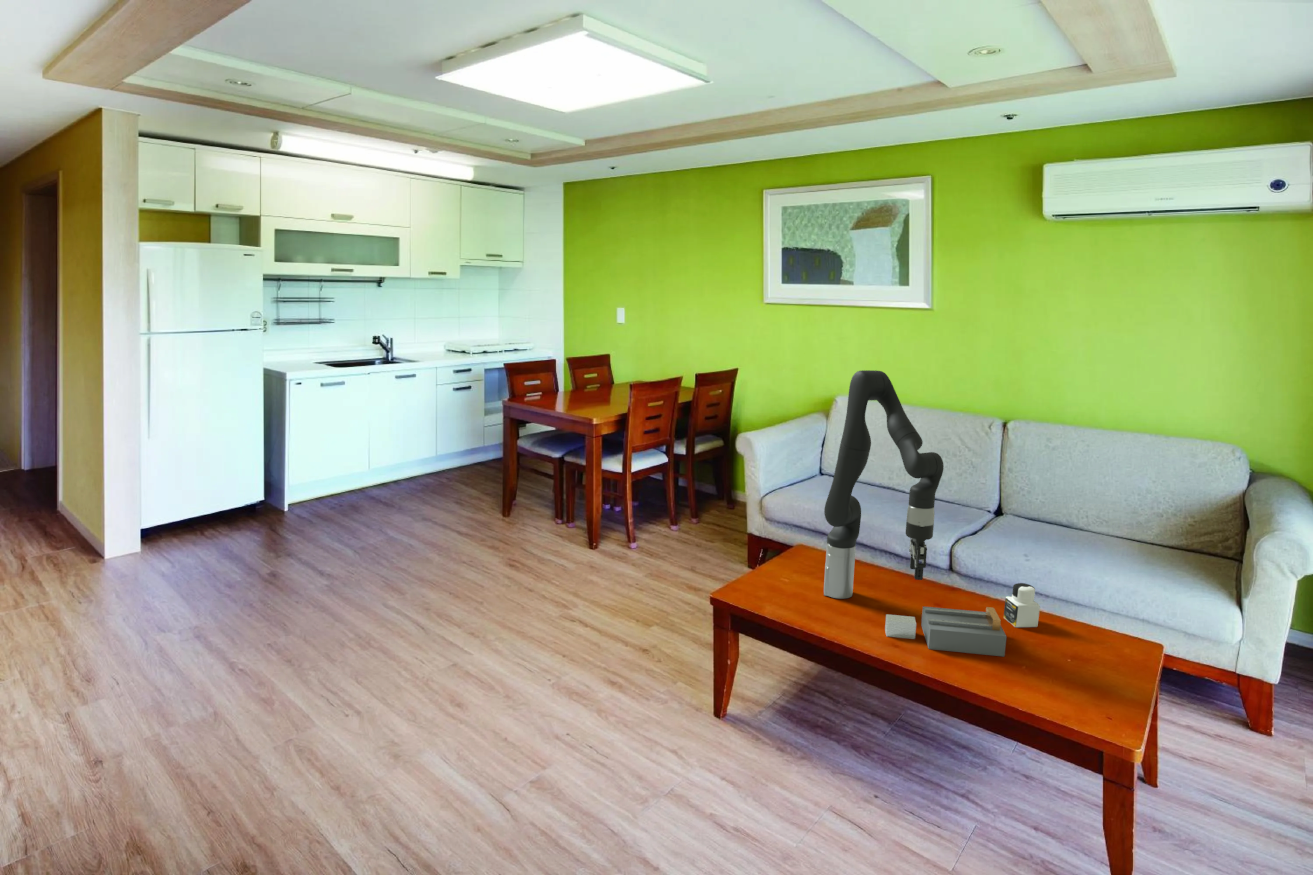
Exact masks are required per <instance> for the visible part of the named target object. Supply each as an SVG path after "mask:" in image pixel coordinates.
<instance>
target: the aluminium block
mask: <svg viewBox="0 0 1313 875" xmlns="http://www.w3.org/2000/svg"><path fill="white" fill-rule="evenodd" d="M884 631H885V635H886V636H885V637H890V638H898V639H910V640H916V632H917V622H916V617H915V616H910V615H909V616H907V615H899V614H898V615H897V614H885V625H884Z"/></svg>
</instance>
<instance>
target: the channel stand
mask: <svg viewBox="0 0 1313 875" xmlns="http://www.w3.org/2000/svg"><path fill="white" fill-rule="evenodd" d="M985 607H986V608H985V611H978V610H967V609H956V608H955V609H954V608H946V607H945V608H943V607H933V606H922V610H921V611H922V612H921V613H922V614H921V621H920V622H921V629H922V632H923V634H924V635H923V636H924V639H925V641H926V644H927V648H928V650H933V651H934V650H936V651H947V652H956V653H966V654H974V655H975V654H976V655H983V656H985V655H986V656H997V657H1005V656H1006V645H1007V635H1006V632H1005V631H1004V628H1003V627H1002V624H1001V623H1002V622H1001V621H1002V620H1001V618H1000V617H999V614H998V613H997V610H996V608H994V607H989V606H985Z"/></svg>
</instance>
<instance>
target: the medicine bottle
mask: <svg viewBox="0 0 1313 875" xmlns="http://www.w3.org/2000/svg"><path fill="white" fill-rule="evenodd" d="M1035 593H1036V588H1035V587H1034V586H1032V585H1031V584H1028V583H1026V582H1025V583H1023V582H1018V583H1014V584H1013V585H1012V594H1011V596H1005V599H1004V600H1005V601H1004V608H1003V609H1004V610H1003V611H1004V612H1003V619H1004V620H1006V621H1007V622H1008V623H1010V624H1011V625H1012V626H1013V627H1014V628H1037V627H1038V624H1039V619H1040V618H1039V617H1040V610H1041V605H1040V604H1039V603H1037V602H1036V601H1035V595H1036V594H1035Z"/></svg>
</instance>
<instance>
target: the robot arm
mask: <svg viewBox="0 0 1313 875" xmlns="http://www.w3.org/2000/svg"><path fill="white" fill-rule="evenodd" d="M869 401H877V402H878V403H879V404H880V406H881V407H882V409H883V410H884V412H885V415H886V416H885V417H886V428H887V431H888V432H887V433H888V434H889V436H890V439H892V440H893V442H894V444H895V445H896V447H897V449H898V450H899V453H900V457H901V461H902V463H903V467H904V469H905V471H906V473H907V474H908V475H909V476H910V477H912V478H914V479H920V480H919V481H918V482H917V483H915V484H913V485H911V487H910V488H909V494H908V506H907V510H906V511H907V512H906V523H905V536H906V537H907V538H910V540H909V548H908V551H909V556H910V561H909V569H911V570H914V576H913V577H914V580H916V581H918V580H919V581H922V580H923V578H924V569H925V568H926V567H927V554H928V553H927V552H928V548H927V544H926V541H927V540H932V539H933V537H934V529H935V528H934V526H935V515H936V514H935V504H936V503H935V501H936V500H935V499H936V492H937V490H938V487H939V484H940V482H941V480H942V477H943V473H944V461H943V458H942V456H941V455H940V454H938V453H937V452H933V451H930V452H929V451H928V452H919V450H920V449H921V448H922V447H923V439H922V436H921V435H920V434H919V433H918V432H919V431H917V429H916V428H915V427H914V425H913V423H912V422H911V420H910V419H909V417H908V416H907V413H906V412H905V410H904V408H903V405H902V403H901V401H900V398H899V396H898V394H897V391H896V390H895V387H894V385H893V383H892V381H891V379H890V378H889V376H888V374H887V373H886V372H884V371H882V370H877V369H876V370H865V369H864V370H857V371H856V372H855V373H854V374H853V375H852V377H851V379H850V382H849V389H848V396H847V407H846V413H845V420H844V426H843V432H842V436H841V439H840V444H839V449H838V455H837V460H836V463H835V469H834V474H833V478H832V483H831V486H830V489H829V492H828V495H827V498H826V501H825V504H824V508H823V510H824V511H823V512H824V518H825V520H826V522H827V523H828V524H829V525H830V526H831V527H832V529H831V530H830V531H829V532H828V534H827V537H826V549H825V550H826V553H825V564H824V580H823V596H826V597H831V598H833V599H839V600H842V599H844V600H845V599H849V598H851V597H853V592H854V591H853V590H854V579H855V578H854V577H855V576H854V575H855V561H856V546H857V540H858V538H859V535H860V530H861V521H862V520H861V519H862V507H861V506H862V505H861V503H860V501H859V500H858V498H856V497H855V496H853V495H852V494H853V489H854V487H855V485H856V484H857V482H858V480H859V478H860V477H861V475H862V473H863V472H864V470H865V468H866V465H867V463H868V460H869V457H870V452H871V446H872V439H871V438H872V437H871V436H870V435H871V434H870V431H869V428H868V426H867V421H866V412H867V407H868V402H869ZM920 561H921V563H920Z"/></svg>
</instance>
